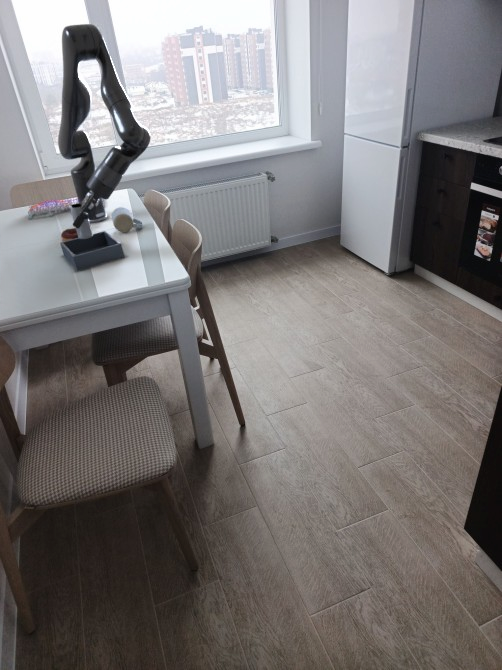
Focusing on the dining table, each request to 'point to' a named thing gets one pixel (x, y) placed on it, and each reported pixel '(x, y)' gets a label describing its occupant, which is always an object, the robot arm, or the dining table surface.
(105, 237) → the dark grey open tray
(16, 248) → the dining table surface
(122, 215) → the ceramic mug
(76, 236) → the donut
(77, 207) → the white and black tumbler
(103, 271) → the dining table surface
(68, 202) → the multicolour bumpy slab
